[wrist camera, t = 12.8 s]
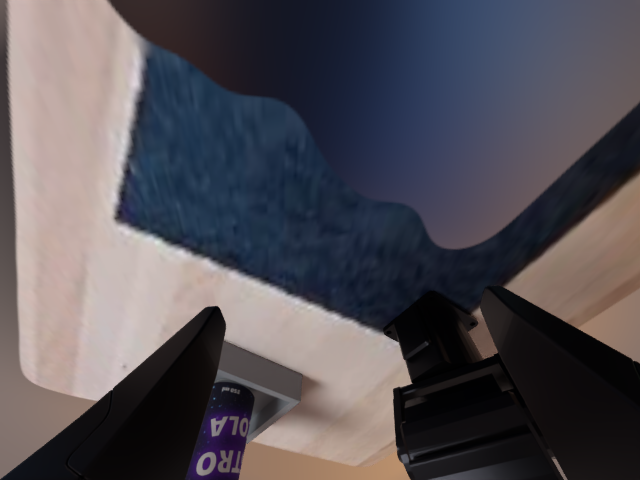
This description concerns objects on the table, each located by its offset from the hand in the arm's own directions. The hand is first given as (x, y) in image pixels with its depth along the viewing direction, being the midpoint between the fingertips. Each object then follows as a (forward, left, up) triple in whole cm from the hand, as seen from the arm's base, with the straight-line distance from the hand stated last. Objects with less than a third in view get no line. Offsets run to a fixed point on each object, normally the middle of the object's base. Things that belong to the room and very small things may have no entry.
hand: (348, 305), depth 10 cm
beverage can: (-5, +26, -11) cm, 29 cm away
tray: (-5, +26, -12) cm, 29 cm away
